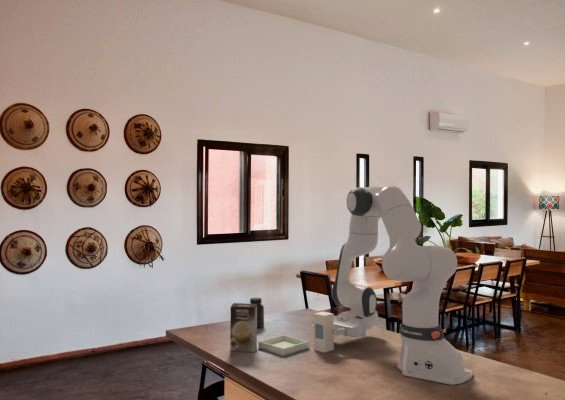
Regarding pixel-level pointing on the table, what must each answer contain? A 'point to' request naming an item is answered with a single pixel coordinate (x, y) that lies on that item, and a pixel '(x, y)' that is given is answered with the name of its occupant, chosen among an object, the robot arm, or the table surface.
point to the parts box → (323, 331)
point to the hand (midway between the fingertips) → (323, 330)
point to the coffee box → (243, 327)
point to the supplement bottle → (259, 311)
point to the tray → (283, 345)
